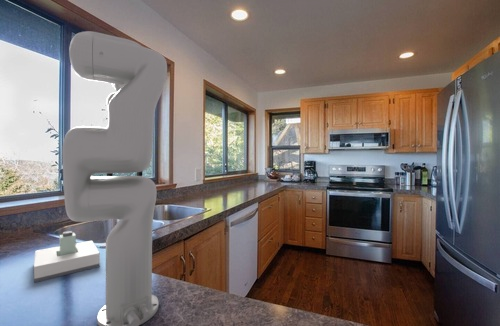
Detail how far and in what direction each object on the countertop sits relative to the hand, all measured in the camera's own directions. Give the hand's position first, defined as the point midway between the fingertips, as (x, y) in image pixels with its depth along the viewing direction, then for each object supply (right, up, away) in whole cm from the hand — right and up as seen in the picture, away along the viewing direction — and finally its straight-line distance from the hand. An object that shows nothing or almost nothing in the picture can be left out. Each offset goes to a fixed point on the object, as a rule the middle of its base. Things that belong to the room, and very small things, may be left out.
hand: (125, 178), depth 88 cm
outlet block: (-14, -28, -9) cm, 33 cm away
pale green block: (-14, -27, -9) cm, 32 cm away
